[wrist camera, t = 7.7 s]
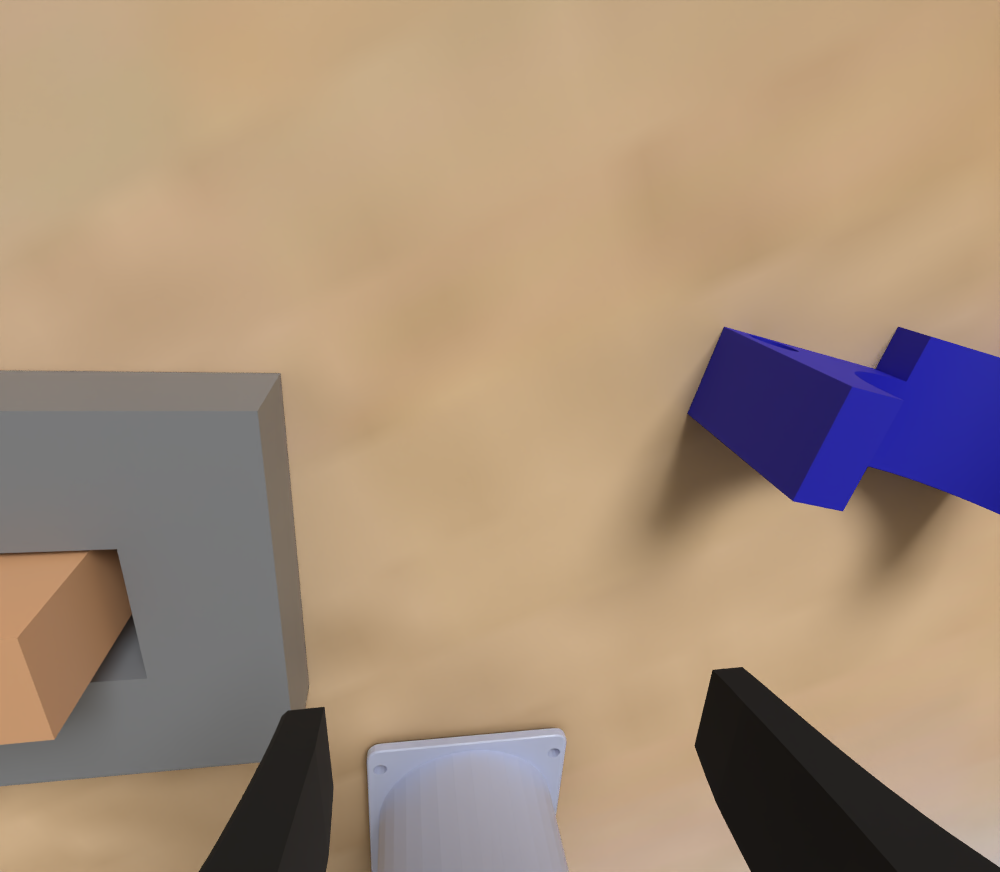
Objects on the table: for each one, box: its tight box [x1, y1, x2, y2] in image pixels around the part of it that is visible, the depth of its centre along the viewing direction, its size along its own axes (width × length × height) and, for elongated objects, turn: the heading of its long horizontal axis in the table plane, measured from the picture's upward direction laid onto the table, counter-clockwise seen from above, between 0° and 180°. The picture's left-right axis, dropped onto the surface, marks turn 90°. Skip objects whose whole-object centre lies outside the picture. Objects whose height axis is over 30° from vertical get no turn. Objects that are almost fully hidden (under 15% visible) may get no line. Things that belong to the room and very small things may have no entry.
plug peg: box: [0, 549, 132, 745], centre depth 16 cm, size 3×3×6 cm
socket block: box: [0, 371, 309, 786], centre depth 17 cm, size 12×12×3 cm
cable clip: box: [687, 327, 1000, 514], centre depth 18 cm, size 12×4×6 cm, turn 74°
